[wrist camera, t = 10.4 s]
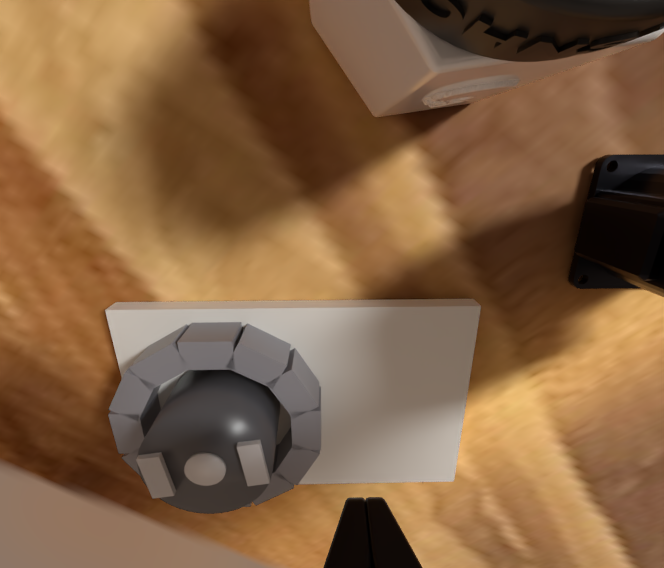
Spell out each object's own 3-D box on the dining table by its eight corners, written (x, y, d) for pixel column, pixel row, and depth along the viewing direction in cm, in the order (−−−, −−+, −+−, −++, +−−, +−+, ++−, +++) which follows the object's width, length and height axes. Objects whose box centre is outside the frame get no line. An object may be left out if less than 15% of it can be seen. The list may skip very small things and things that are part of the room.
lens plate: (473, 298, 19) (499, 323, 16) (448, 468, 23) (465, 511, 20) (115, 302, 19) (78, 328, 16) (155, 473, 23) (131, 518, 20)
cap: (270, 354, 19) (258, 410, 15) (288, 441, 21) (282, 509, 17) (157, 368, 19) (114, 428, 15) (187, 454, 21) (157, 525, 17)
